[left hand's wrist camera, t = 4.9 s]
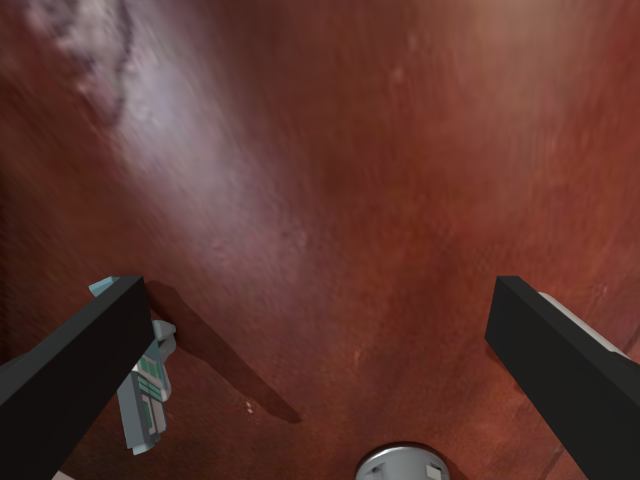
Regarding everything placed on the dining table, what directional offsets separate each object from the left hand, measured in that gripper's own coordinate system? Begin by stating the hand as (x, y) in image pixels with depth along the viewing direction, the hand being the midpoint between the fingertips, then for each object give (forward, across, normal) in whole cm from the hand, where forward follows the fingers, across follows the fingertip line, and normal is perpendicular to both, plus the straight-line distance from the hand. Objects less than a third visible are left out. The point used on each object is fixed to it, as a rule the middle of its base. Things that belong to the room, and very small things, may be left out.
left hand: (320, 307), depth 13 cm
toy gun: (+28, +22, +19) cm, 40 cm away
